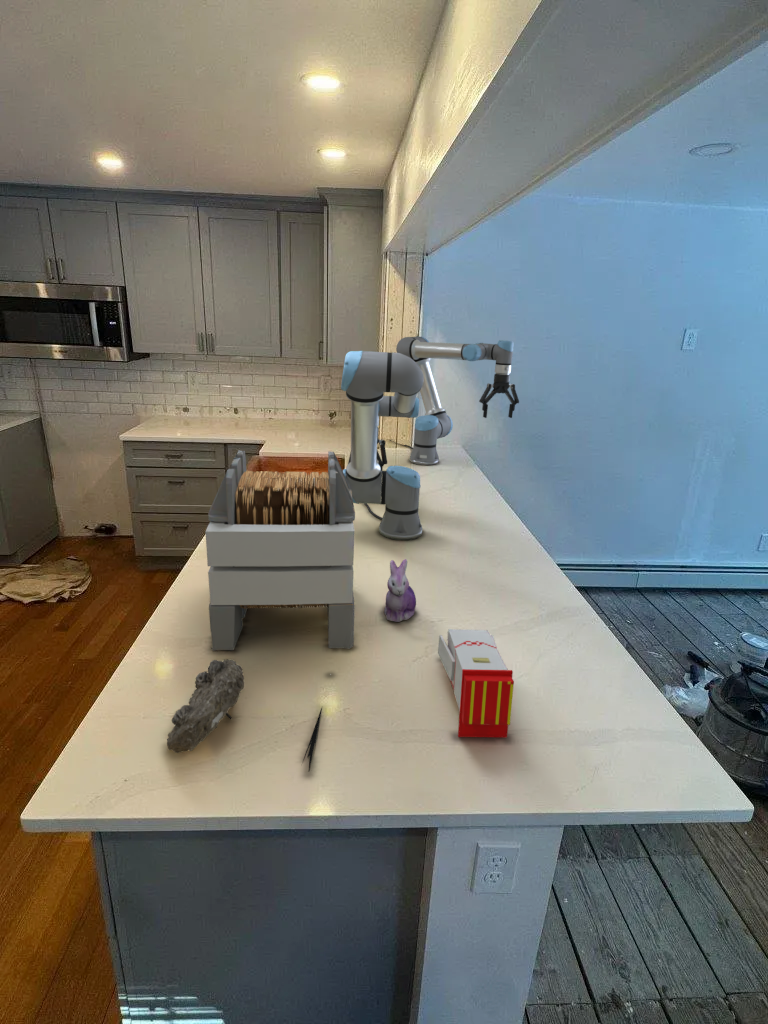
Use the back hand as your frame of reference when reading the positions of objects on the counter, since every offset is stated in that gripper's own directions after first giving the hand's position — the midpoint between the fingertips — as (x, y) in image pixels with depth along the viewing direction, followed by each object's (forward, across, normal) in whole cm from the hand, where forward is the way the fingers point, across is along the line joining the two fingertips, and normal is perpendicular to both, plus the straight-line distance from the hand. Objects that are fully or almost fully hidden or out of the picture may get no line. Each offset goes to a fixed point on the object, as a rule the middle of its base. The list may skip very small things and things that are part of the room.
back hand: (497, 417), depth 282 cm
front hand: (+18, -75, -46) cm, 90 cm away
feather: (+26, -110, -172) cm, 205 cm away
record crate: (+26, -113, -131) cm, 175 cm away
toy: (+26, -78, -169) cm, 188 cm away
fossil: (+26, -130, -167) cm, 213 cm away
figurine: (+26, -85, -136) cm, 162 cm away
